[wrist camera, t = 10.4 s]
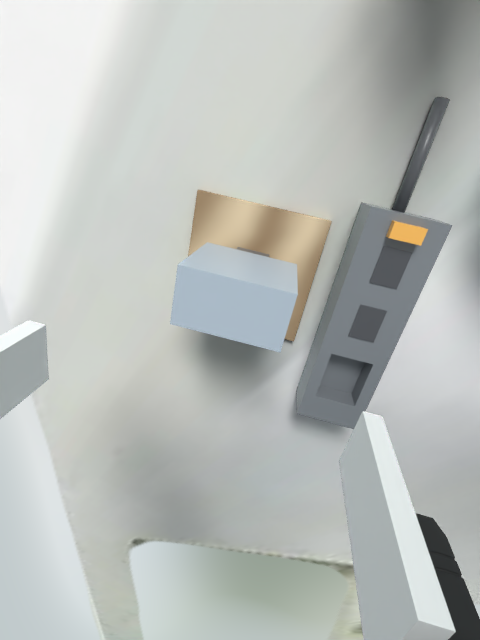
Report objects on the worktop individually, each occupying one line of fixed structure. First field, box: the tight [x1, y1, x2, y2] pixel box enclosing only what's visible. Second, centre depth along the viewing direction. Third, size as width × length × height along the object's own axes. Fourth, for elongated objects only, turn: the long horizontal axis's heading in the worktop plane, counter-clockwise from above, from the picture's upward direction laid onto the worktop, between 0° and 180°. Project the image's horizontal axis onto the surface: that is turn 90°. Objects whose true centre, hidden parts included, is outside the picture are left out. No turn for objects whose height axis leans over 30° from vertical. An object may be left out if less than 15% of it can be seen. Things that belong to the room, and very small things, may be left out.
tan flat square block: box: [188, 190, 331, 341], centre depth 32 cm, size 12×12×1 cm
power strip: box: [297, 97, 452, 429], centre depth 28 cm, size 28×6×5 cm, turn 168°
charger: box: [170, 242, 298, 352], centre depth 27 cm, size 4×8×10 cm, turn 78°
